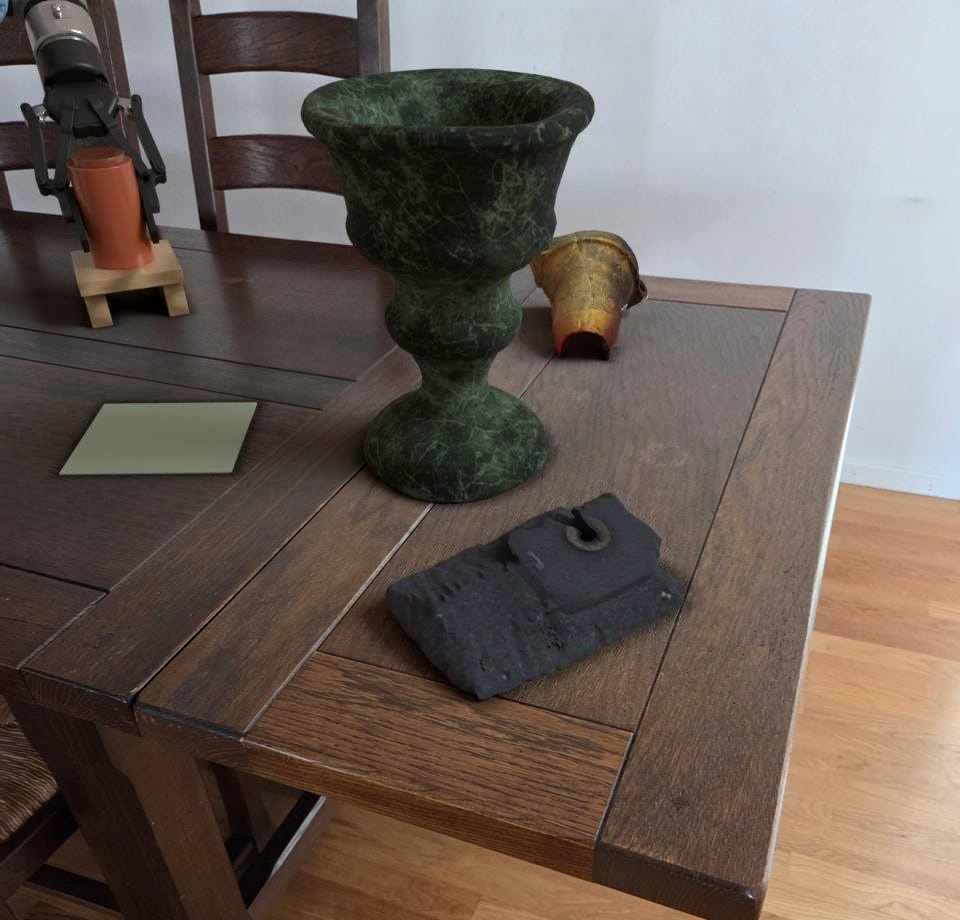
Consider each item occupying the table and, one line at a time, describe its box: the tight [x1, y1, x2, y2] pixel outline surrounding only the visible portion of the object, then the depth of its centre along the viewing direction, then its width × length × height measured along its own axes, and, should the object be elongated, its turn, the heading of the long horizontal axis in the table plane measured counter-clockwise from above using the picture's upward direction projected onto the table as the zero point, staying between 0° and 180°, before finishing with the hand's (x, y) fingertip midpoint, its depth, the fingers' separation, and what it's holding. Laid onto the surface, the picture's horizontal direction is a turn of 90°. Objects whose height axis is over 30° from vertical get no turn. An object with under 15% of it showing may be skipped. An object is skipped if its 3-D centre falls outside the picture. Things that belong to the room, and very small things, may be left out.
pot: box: [528, 229, 649, 361], centre depth 105 cm, size 17×11×18 cm
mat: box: [58, 401, 258, 476], centre depth 88 cm, size 16×14×1 cm
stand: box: [70, 238, 190, 329], centre depth 111 cm, size 12×12×6 cm
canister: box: [66, 146, 155, 270], centre depth 105 cm, size 7×7×12 cm
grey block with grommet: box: [385, 492, 685, 700], centre depth 67 cm, size 15×22×5 cm
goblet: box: [300, 67, 596, 504], centre depth 76 cm, size 22×23×30 cm
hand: (120, 241), depth 105 cm, fingers closed on canister, 7 cm apart
